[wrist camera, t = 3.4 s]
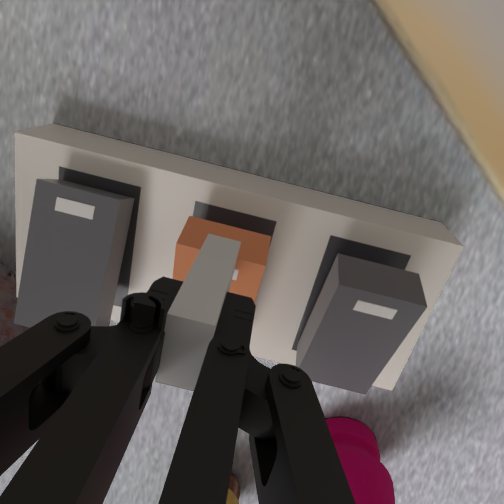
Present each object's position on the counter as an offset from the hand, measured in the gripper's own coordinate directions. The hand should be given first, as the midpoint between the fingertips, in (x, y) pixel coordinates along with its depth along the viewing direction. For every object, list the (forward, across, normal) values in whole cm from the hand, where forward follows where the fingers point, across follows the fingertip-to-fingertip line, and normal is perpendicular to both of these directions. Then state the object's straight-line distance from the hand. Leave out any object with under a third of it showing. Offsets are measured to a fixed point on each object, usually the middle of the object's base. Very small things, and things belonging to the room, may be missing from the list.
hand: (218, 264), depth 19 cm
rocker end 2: (+4, +8, -3) cm, 10 cm away
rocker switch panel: (+10, 0, -4) cm, 10 cm away
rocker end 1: (+4, -8, -4) cm, 10 cm away
